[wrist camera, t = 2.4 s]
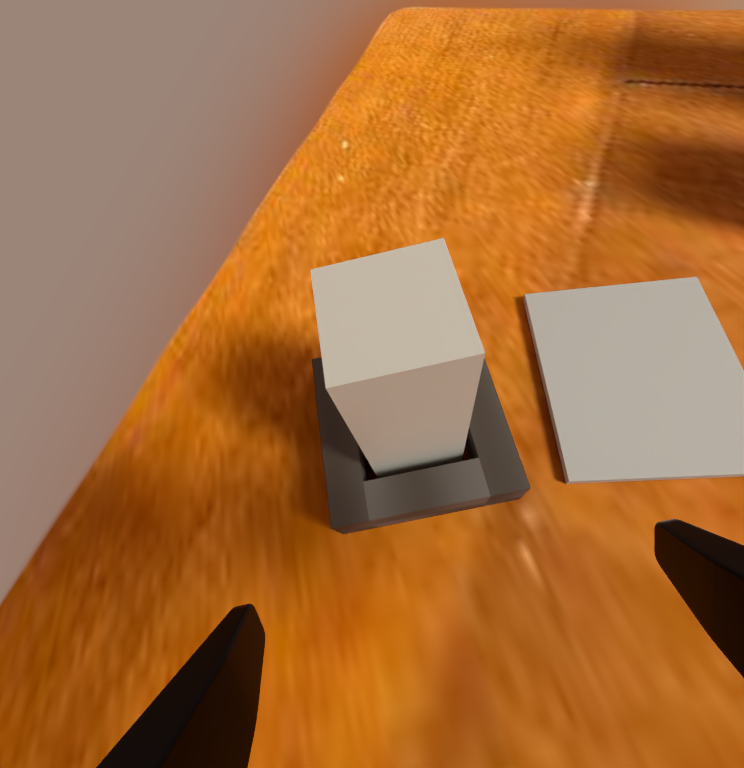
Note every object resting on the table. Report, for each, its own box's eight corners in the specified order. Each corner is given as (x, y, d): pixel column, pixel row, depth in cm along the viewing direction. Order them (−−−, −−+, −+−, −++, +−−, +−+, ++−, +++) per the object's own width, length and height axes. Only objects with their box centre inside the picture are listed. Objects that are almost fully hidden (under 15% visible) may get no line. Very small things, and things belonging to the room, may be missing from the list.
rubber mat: (691, 282, 26) (696, 276, 26) (784, 474, 21) (794, 471, 20) (523, 299, 28) (524, 294, 27) (565, 483, 22) (569, 481, 21)
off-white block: (440, 390, 26) (443, 237, 14) (461, 464, 23) (484, 353, 12) (366, 406, 26) (310, 269, 14) (379, 480, 24) (325, 388, 12)
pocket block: (468, 348, 27) (471, 323, 24) (519, 499, 22) (530, 488, 19) (324, 380, 27) (311, 359, 25) (343, 534, 23) (330, 528, 20)
